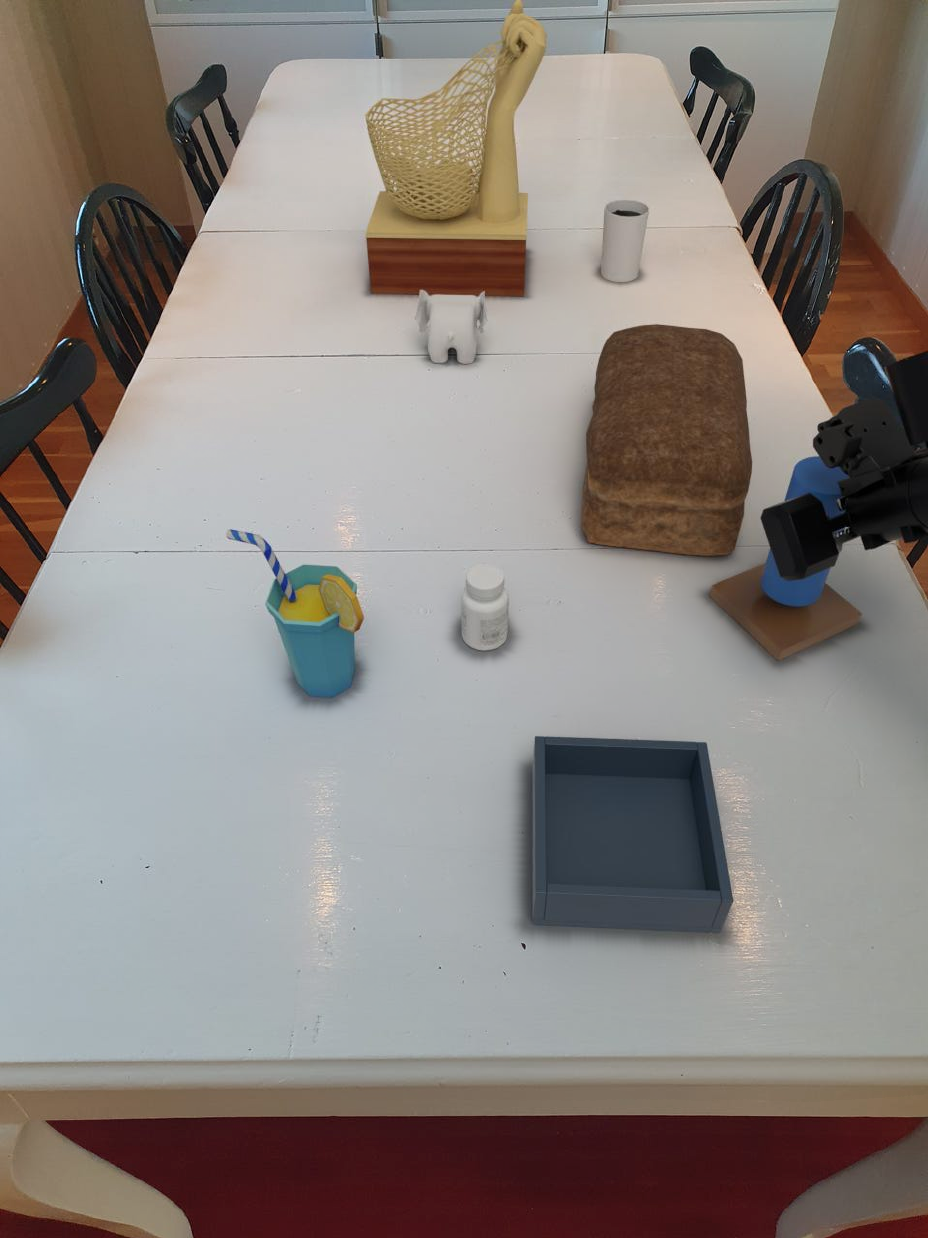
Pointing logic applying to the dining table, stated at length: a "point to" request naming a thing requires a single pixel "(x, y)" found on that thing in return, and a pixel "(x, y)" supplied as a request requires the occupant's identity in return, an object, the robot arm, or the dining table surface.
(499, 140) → the net sculpture trophy
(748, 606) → the trivet
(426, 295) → the elephant figurine
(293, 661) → the cup
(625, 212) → the white cylindrical pot
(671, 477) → the bread
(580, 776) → the tray
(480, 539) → the dining table surface
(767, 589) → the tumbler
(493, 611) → the pill bottle
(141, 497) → the dining table surface
